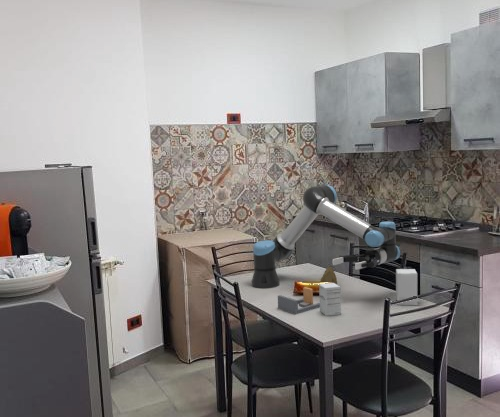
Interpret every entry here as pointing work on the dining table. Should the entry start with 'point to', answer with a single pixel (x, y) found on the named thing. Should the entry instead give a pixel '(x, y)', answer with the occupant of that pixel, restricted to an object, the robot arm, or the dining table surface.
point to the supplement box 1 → (330, 299)
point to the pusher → (307, 297)
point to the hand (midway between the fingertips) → (344, 264)
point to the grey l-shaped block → (293, 305)
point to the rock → (329, 276)
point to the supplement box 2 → (406, 285)
